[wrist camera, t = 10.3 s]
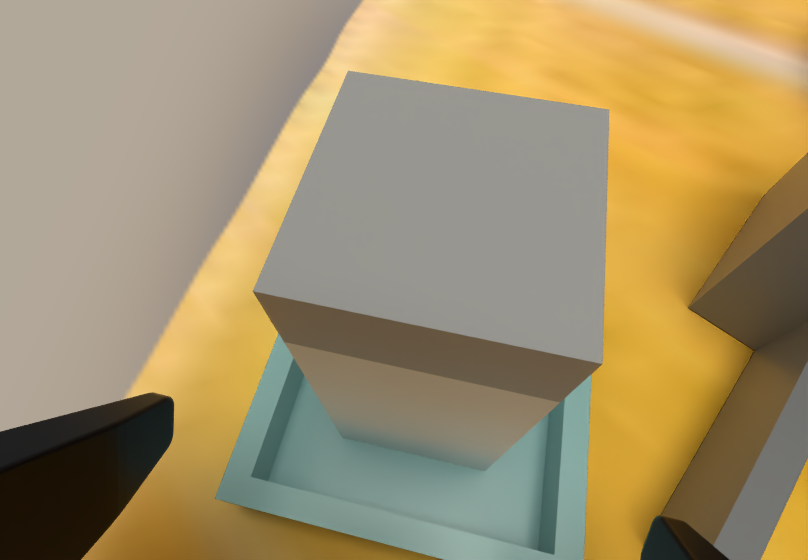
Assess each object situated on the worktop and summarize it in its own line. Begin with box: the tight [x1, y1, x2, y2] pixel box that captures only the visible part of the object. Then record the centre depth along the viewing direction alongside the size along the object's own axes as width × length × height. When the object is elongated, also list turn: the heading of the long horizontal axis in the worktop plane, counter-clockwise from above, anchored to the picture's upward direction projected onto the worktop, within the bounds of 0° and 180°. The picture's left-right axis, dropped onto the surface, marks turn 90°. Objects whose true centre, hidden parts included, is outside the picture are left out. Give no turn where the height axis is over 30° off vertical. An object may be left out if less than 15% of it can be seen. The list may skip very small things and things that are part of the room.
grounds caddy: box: [253, 71, 609, 471], centre depth 13 cm, size 5×5×11 cm
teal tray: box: [215, 334, 591, 560], centre depth 17 cm, size 11×11×2 cm
